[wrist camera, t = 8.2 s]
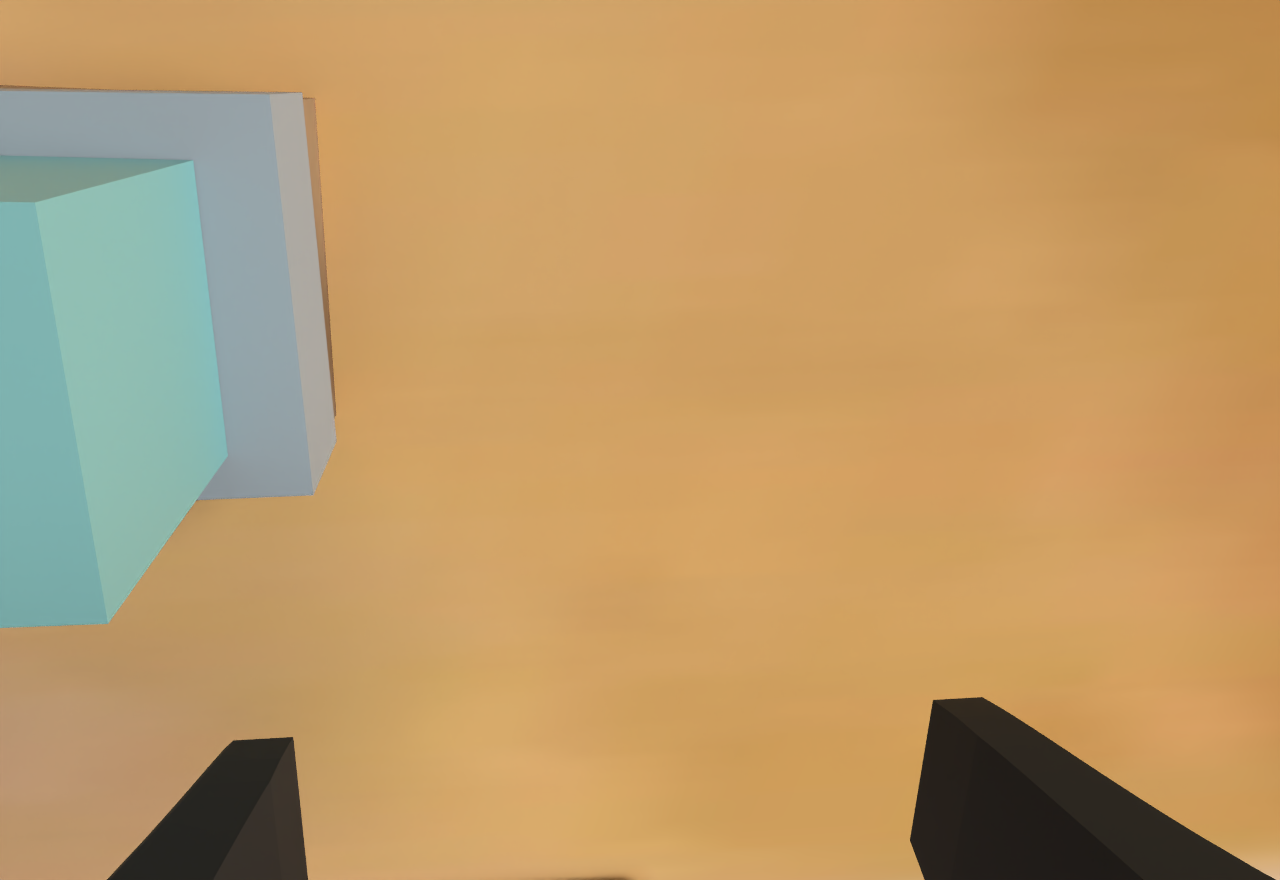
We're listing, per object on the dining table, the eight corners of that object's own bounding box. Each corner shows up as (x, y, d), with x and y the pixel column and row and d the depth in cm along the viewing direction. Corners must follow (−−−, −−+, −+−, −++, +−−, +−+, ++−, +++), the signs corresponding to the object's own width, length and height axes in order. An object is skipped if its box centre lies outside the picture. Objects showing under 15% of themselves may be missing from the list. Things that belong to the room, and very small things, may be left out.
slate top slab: (336, 441, 18) (313, 494, 15) (-20, 453, 17) (-100, 512, 15) (301, 92, 16) (269, 94, 13) (-105, 86, 15) (-215, 87, 13)
